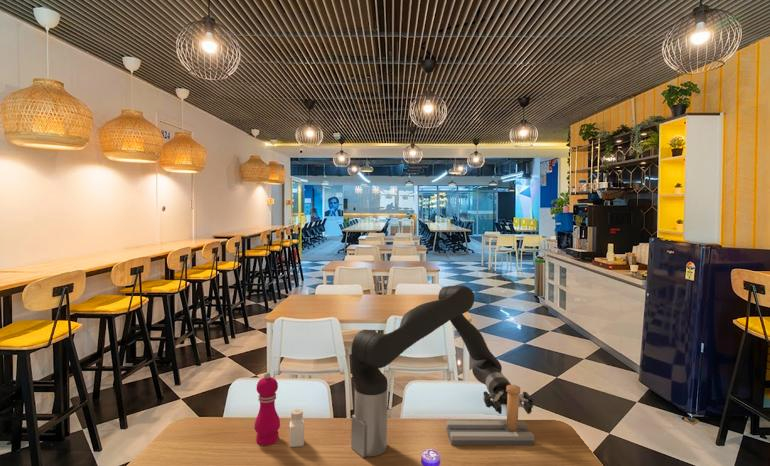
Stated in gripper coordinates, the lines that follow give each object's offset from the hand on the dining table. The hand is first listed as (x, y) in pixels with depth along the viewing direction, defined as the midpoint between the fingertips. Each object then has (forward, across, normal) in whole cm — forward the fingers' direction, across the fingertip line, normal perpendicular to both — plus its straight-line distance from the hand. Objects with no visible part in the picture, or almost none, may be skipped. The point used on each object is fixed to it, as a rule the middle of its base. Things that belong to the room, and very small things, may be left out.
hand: (515, 410), depth 126 cm
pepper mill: (0, -72, +9) cm, 73 cm away
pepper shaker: (+2, -64, +9) cm, 64 cm away
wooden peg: (-2, 0, +7) cm, 8 cm away
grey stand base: (-2, -7, +9) cm, 12 cm away
